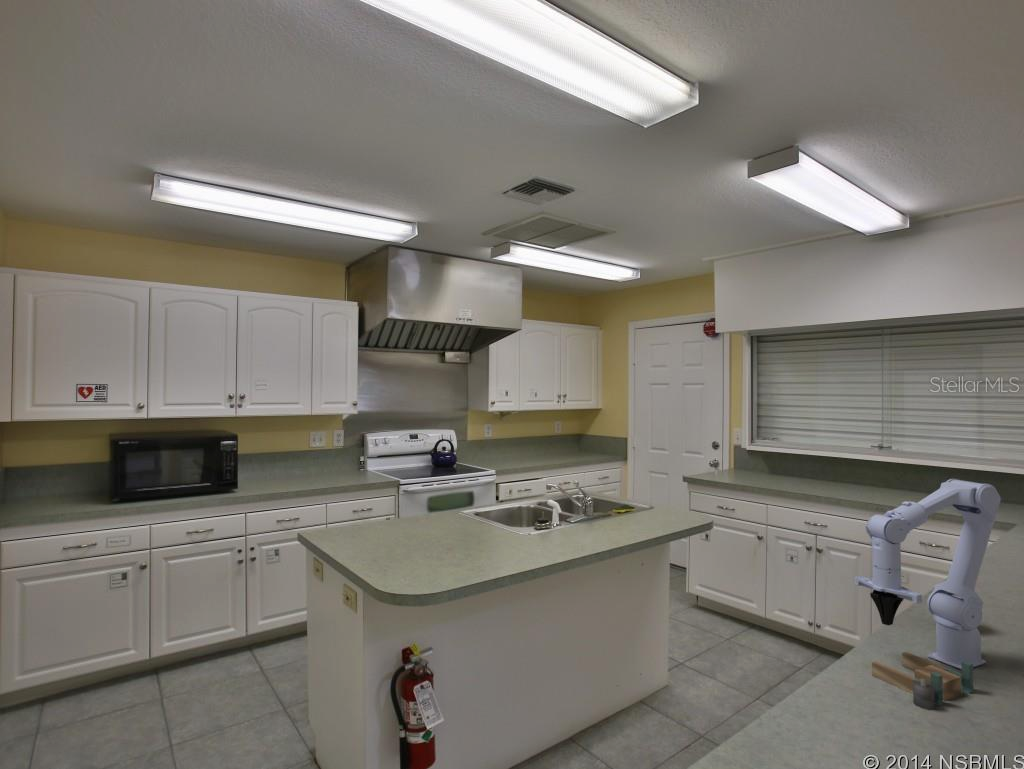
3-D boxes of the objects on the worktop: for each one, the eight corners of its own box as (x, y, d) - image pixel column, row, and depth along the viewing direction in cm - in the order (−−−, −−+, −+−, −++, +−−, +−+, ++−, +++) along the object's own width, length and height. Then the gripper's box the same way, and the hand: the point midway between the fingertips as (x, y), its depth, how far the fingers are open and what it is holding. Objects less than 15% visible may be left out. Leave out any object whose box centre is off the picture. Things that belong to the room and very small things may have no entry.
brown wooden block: (931, 682, 128) (931, 664, 128) (961, 695, 123) (961, 676, 123) (914, 688, 126) (914, 670, 126) (944, 701, 120) (944, 682, 120)
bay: (906, 664, 136) (905, 639, 137) (975, 692, 123) (974, 664, 124) (859, 679, 129) (859, 652, 129) (928, 711, 116) (927, 681, 116)
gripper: (846, 560, 140) (847, 615, 140) (908, 577, 127) (909, 638, 127) (864, 557, 143) (865, 611, 143) (927, 573, 130) (928, 632, 130)
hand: (887, 623), depth 135 cm, fingers closed
